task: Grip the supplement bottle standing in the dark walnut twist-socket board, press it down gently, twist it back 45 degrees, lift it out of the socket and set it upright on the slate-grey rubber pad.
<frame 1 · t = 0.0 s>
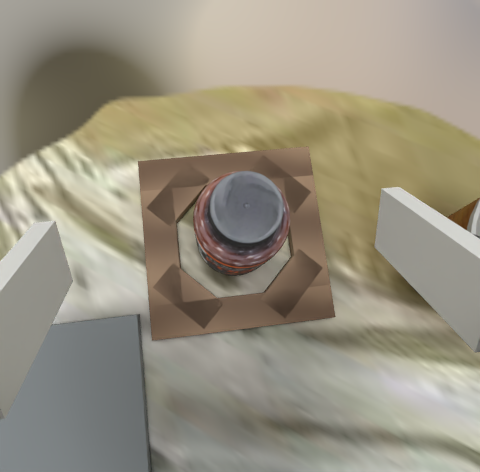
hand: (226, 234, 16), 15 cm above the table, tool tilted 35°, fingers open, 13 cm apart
socket board: (234, 240, 31), on the table
supplement bottle: (233, 240, 31), resting in socket board
slate pad: (49, 423, 28), on the table
disposable coffee cup: (439, 265, 32), on the table
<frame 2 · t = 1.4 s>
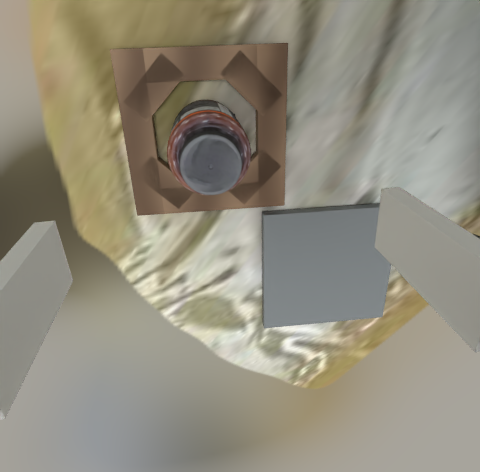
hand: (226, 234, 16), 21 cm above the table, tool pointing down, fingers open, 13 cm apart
socket board: (206, 133, 34), on the table
supplement bottle: (206, 132, 34), resting in socket board
slate pad: (325, 266, 42), on the table
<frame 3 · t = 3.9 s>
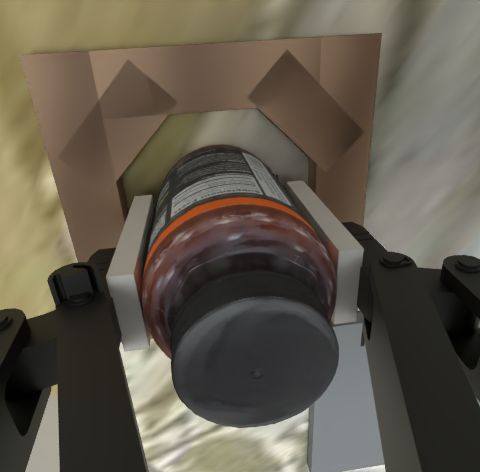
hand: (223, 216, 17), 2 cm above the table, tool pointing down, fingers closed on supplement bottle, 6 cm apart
socket board: (219, 201, 19), on the table
supplement bottle: (219, 200, 19), resting in socket board, touching gripper
slate pad: (407, 385, 27), on the table
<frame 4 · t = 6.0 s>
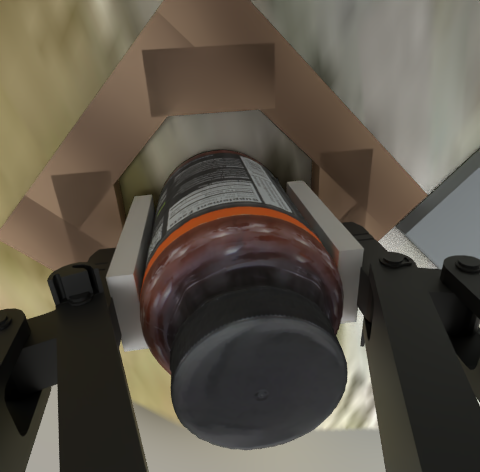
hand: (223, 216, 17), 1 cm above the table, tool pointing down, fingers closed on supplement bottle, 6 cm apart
socket board: (220, 205, 18), on the table
supplement bottle: (220, 205, 19), resting in socket board, touching gripper
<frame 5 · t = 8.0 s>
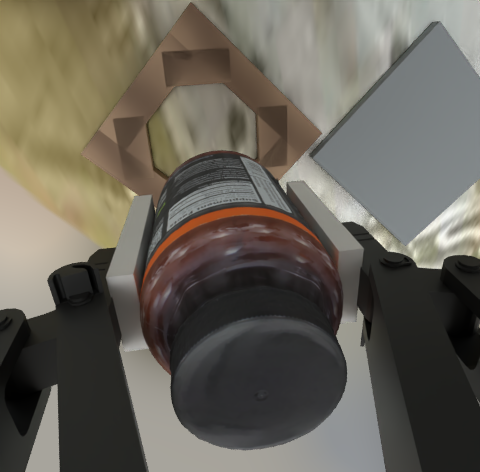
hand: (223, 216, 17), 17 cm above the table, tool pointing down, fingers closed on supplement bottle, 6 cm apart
socket board: (204, 140, 32), on the table
supplement bottle: (220, 206, 19), point 15 cm above the table, touching gripper
slate pad: (414, 145, 35), on the table
when the fingers open (4 cm above the table, at t = 11.0 s): supplement bottle drops 1 cm, resting on slate pad.
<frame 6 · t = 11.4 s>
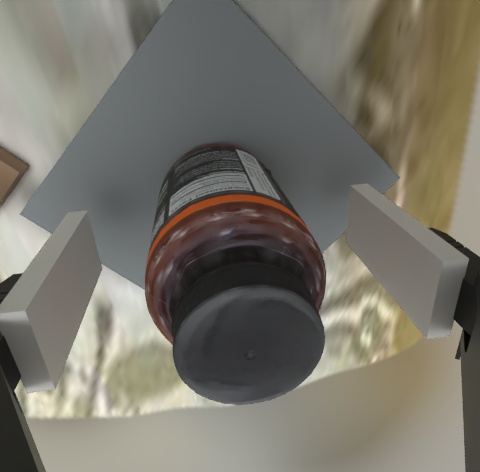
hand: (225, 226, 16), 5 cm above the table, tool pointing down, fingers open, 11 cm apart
supplement bottle: (217, 195, 20), point 1 cm above the table, touching slate pad
slate pad: (216, 188, 21), on the table
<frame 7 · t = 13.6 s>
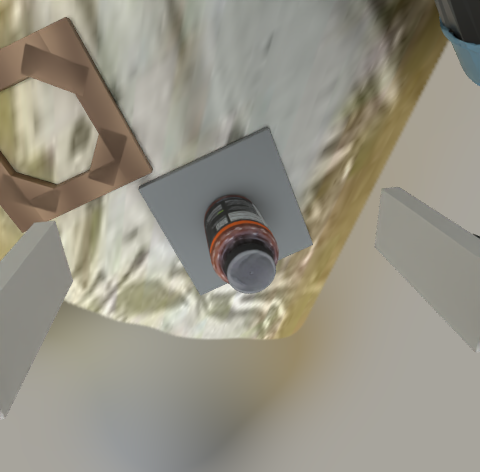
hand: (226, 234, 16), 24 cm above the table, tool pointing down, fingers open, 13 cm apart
socket board: (46, 133, 35), on the table
supplement bottle: (231, 219, 40), point 1 cm above the table, touching slate pad
slate pad: (230, 215, 41), on the table
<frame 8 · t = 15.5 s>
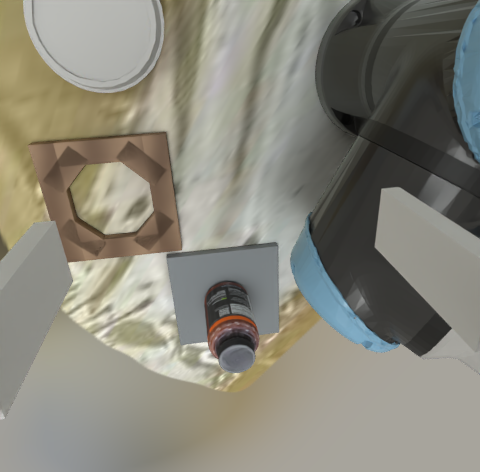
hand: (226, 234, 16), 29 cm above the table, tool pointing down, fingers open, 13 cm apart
socket board: (113, 198, 44), on the table
supplement bottle: (226, 297, 51), point 1 cm above the table, touching slate pad
slate pad: (226, 293, 51), on the table
disposable coffee cup: (120, 29, 37), on the table
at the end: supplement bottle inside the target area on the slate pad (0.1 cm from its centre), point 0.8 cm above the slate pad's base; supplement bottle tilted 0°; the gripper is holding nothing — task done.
